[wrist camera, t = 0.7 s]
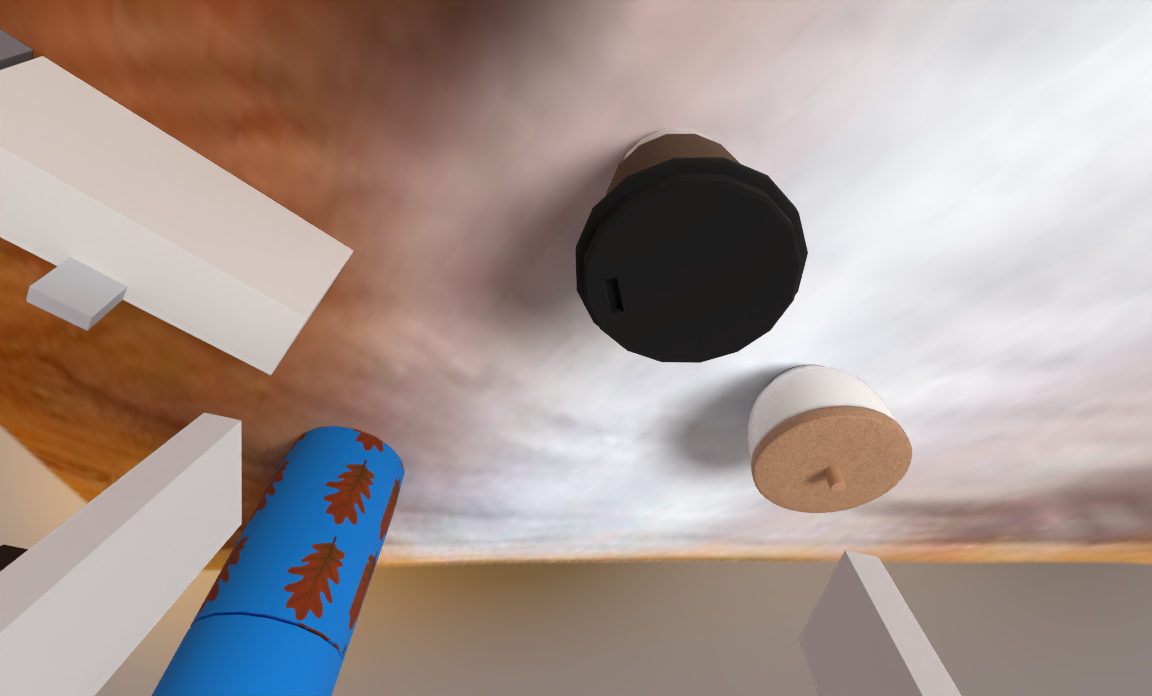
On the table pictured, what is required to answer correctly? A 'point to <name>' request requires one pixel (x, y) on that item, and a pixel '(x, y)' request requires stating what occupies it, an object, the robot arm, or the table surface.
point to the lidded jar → (824, 441)
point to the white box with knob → (148, 220)
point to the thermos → (294, 575)
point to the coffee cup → (689, 251)
